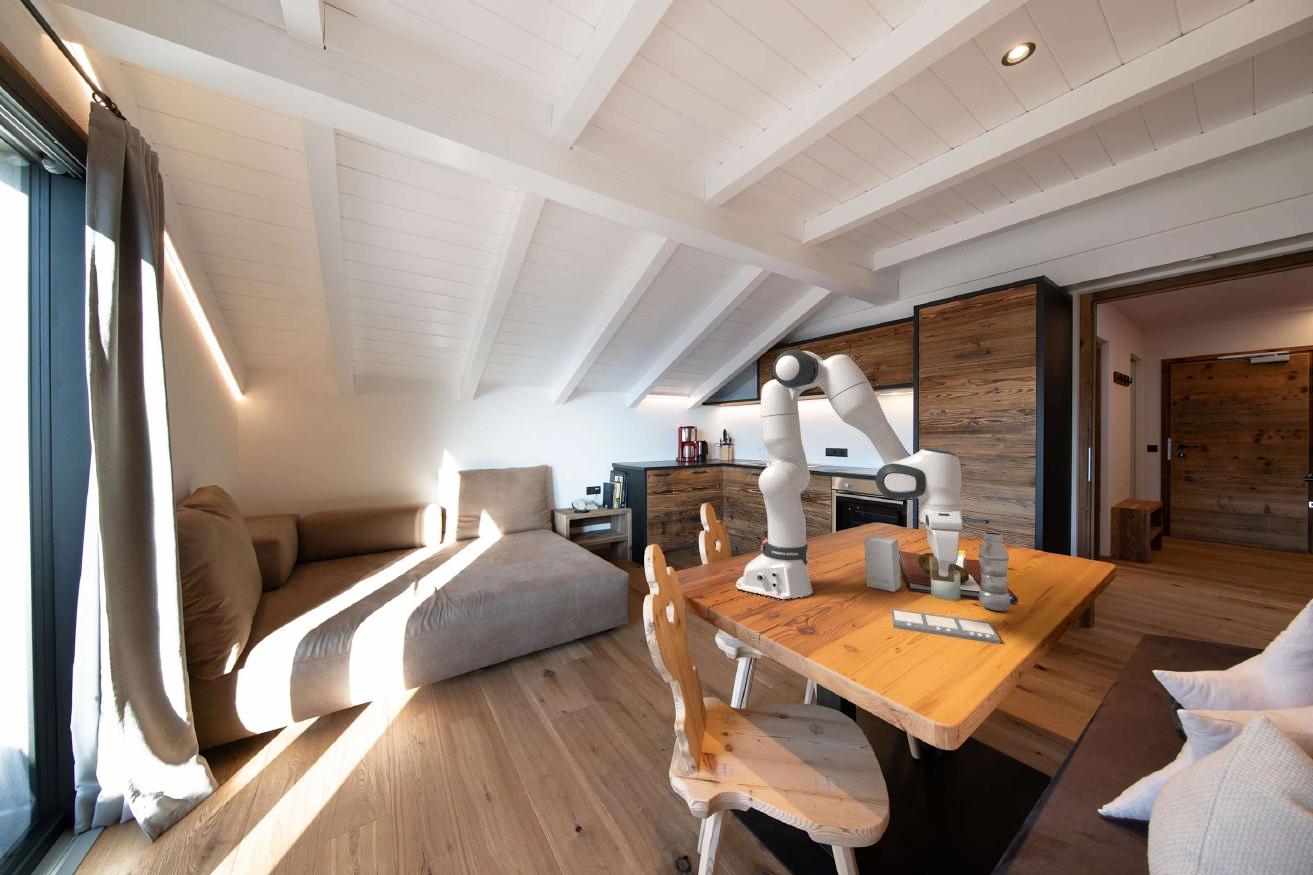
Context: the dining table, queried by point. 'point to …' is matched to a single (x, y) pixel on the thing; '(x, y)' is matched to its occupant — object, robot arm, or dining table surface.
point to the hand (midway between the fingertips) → (941, 571)
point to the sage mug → (947, 588)
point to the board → (945, 625)
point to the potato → (925, 566)
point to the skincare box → (882, 563)
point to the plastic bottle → (993, 573)
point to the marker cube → (935, 574)
